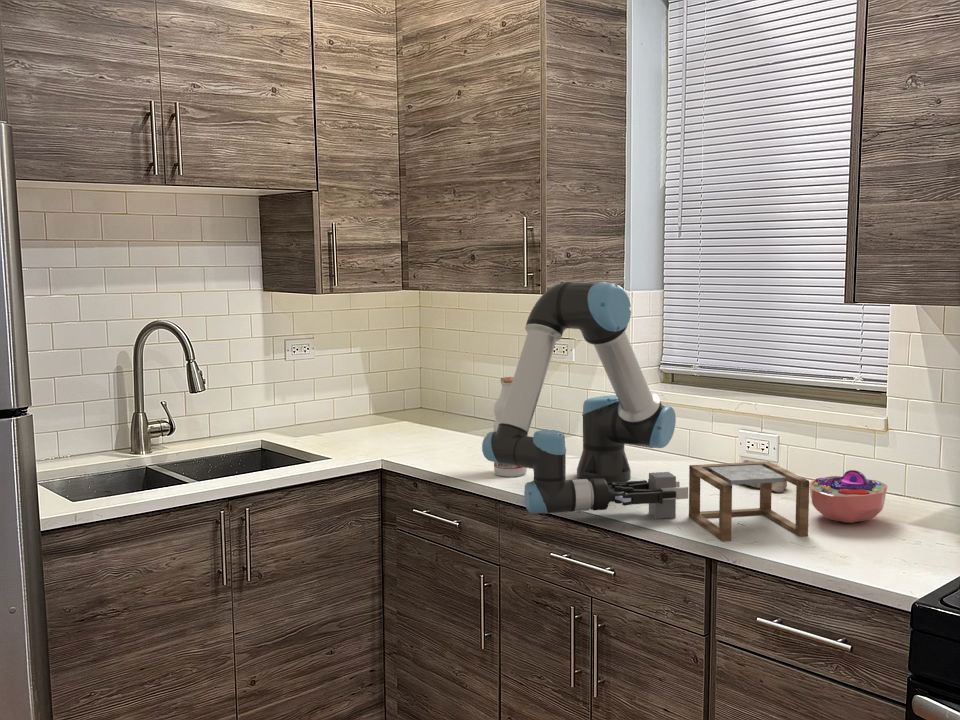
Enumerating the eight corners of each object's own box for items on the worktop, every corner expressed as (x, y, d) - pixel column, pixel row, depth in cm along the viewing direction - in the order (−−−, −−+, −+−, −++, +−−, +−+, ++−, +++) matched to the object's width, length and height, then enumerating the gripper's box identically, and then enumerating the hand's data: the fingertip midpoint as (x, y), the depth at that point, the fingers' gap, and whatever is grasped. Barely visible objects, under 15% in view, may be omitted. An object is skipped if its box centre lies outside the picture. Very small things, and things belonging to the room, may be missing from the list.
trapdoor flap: (704, 471, 220) (704, 467, 220) (761, 468, 223) (762, 464, 222) (728, 484, 207) (728, 480, 207) (788, 481, 209) (788, 477, 209)
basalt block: (648, 513, 227) (648, 472, 226) (668, 511, 228) (668, 471, 227) (655, 518, 222) (655, 477, 221) (675, 517, 223) (675, 476, 222)
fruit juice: (490, 471, 274) (489, 376, 270) (522, 469, 275) (521, 375, 272) (498, 478, 264) (497, 380, 261) (530, 476, 266) (529, 379, 263)
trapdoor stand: (688, 516, 224) (689, 465, 222) (767, 511, 227) (768, 461, 225) (722, 541, 204) (723, 485, 203) (808, 535, 207) (809, 480, 206)
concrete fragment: (775, 495, 242) (775, 469, 242) (727, 483, 255) (728, 458, 255) (794, 490, 247) (795, 465, 246) (747, 479, 260) (747, 454, 259)
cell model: (790, 519, 220) (791, 472, 219) (837, 505, 232) (839, 460, 231) (856, 536, 206) (858, 486, 205) (903, 519, 218) (905, 472, 217)
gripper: (580, 500, 231) (670, 495, 234) (600, 520, 213) (697, 515, 217) (579, 470, 230) (670, 466, 233) (600, 488, 212) (697, 483, 216)
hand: (683, 489), depth 225 cm, fingers closed on basalt block, 5 cm apart
